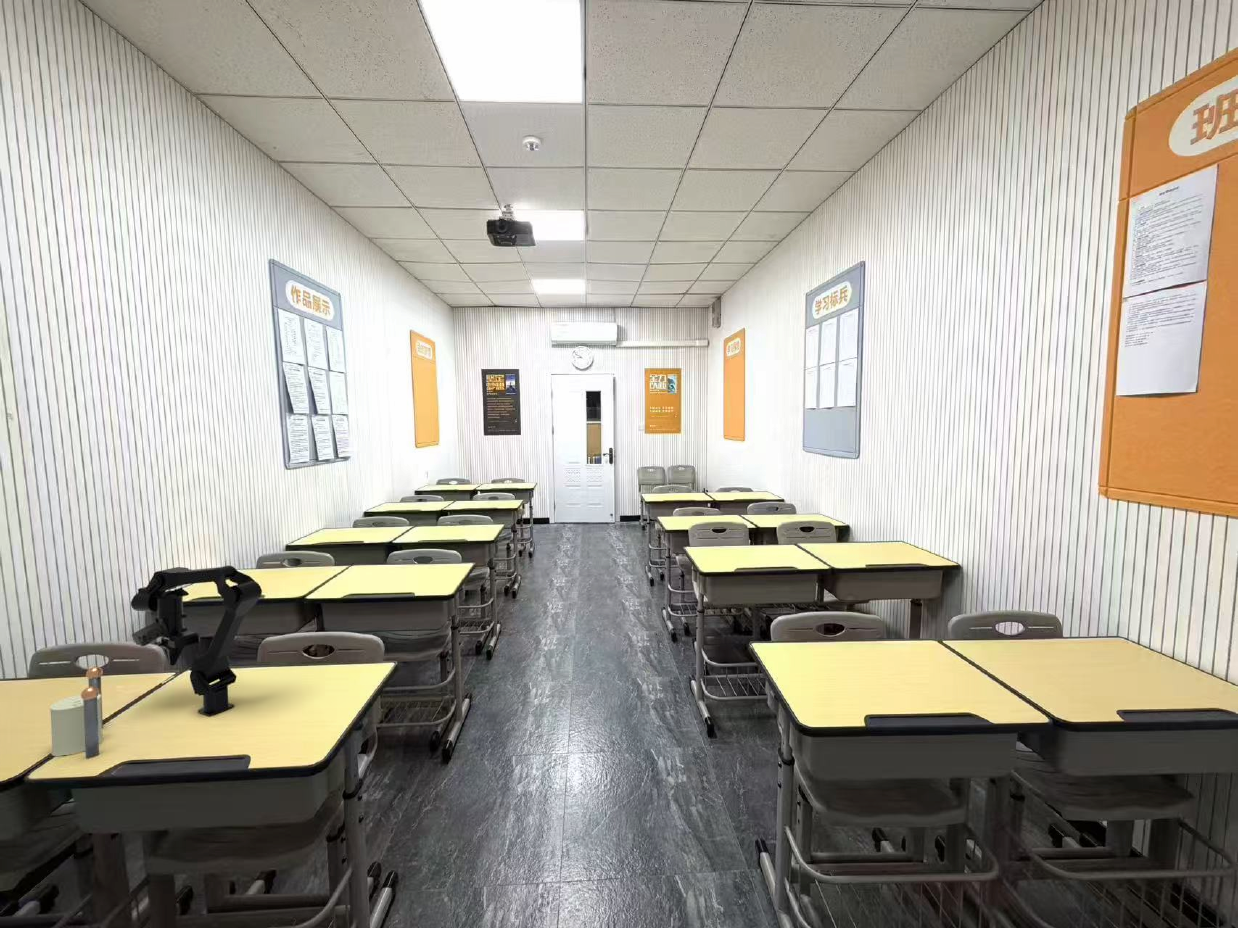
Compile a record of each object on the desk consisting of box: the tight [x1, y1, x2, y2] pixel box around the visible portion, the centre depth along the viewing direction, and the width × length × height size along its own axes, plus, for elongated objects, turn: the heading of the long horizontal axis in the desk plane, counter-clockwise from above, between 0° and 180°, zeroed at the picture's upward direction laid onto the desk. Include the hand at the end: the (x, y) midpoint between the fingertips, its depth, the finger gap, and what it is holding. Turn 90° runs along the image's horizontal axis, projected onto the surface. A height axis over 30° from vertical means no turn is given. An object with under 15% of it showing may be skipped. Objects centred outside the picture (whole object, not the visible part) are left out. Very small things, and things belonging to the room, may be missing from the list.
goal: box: [80, 666, 104, 759], centre depth 138 cm, size 20×3×17 cm, turn 42°
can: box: [49, 694, 104, 757], centre depth 136 cm, size 9×9×12 cm
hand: (172, 665), depth 157 cm, fingers closed
